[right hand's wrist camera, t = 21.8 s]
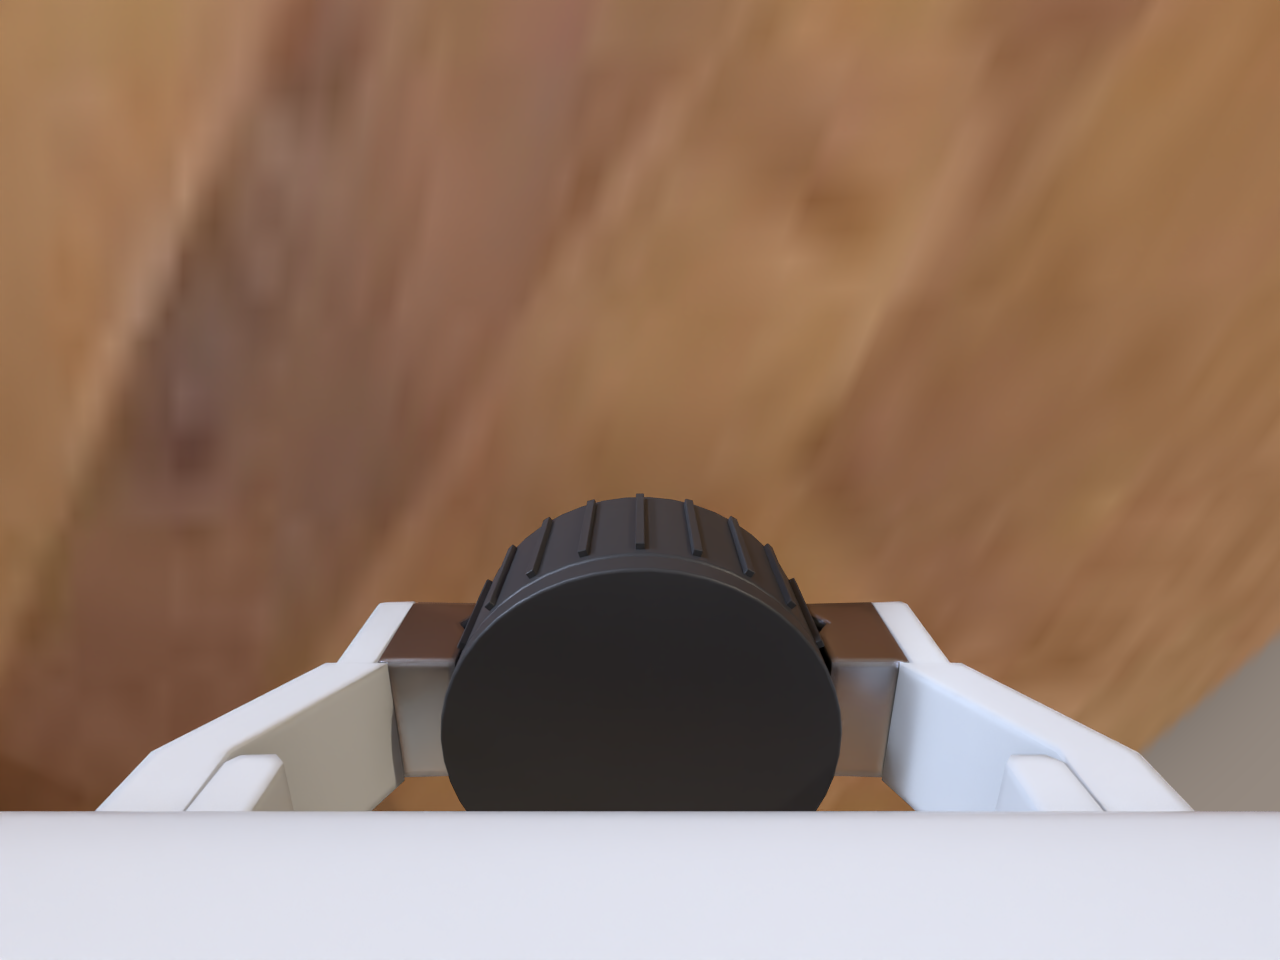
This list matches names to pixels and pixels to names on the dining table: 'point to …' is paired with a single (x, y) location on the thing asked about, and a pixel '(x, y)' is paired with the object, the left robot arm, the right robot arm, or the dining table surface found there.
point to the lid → (641, 672)
